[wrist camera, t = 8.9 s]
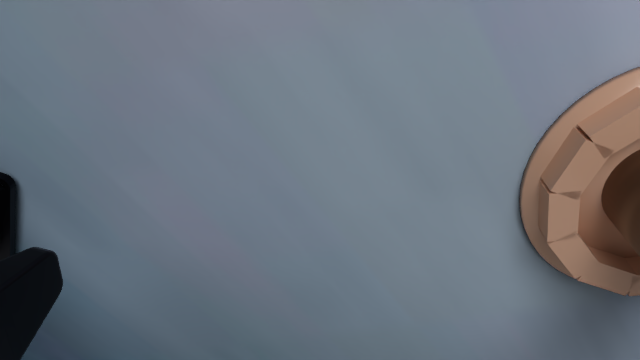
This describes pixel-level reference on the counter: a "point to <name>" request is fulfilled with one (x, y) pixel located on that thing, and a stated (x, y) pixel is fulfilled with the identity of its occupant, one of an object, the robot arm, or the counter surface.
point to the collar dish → (584, 187)
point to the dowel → (624, 199)
